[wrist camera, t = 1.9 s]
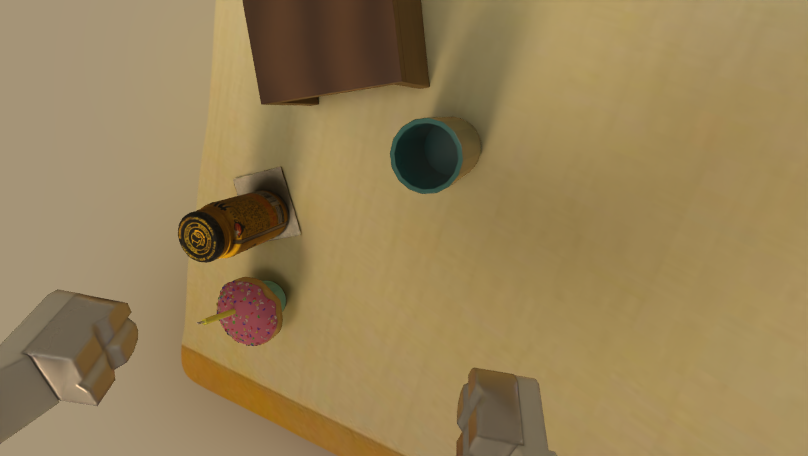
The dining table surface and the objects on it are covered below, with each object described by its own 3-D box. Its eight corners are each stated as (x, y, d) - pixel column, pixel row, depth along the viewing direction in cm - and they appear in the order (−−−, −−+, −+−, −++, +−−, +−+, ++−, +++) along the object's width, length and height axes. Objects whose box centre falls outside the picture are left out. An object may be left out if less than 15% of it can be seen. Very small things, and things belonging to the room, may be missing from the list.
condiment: (254, 243, 57) (181, 275, 46) (233, 179, 56) (154, 195, 45) (302, 234, 55) (237, 265, 44) (282, 166, 53) (210, 180, 42)
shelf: (416, -43, 43) (375, -88, 33) (429, 87, 46) (395, 80, 36) (291, -11, 48) (223, -42, 38) (309, 105, 50) (250, 104, 41)
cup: (478, 113, 45) (458, 113, 36) (483, 175, 46) (465, 190, 37) (419, 121, 47) (385, 123, 38) (426, 180, 48) (395, 196, 39)
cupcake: (233, 276, 60) (160, 313, 49) (283, 258, 56) (217, 294, 45) (259, 334, 61) (194, 383, 50) (310, 320, 57) (252, 369, 46)
